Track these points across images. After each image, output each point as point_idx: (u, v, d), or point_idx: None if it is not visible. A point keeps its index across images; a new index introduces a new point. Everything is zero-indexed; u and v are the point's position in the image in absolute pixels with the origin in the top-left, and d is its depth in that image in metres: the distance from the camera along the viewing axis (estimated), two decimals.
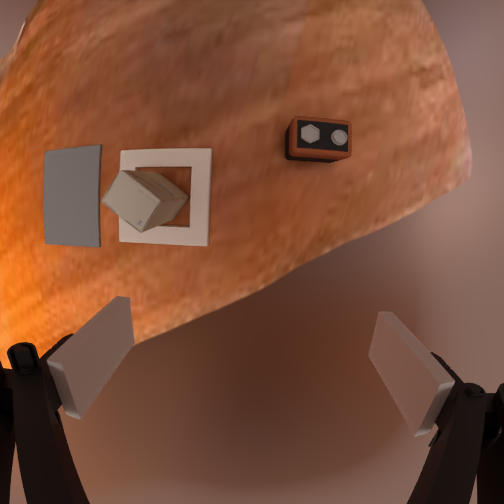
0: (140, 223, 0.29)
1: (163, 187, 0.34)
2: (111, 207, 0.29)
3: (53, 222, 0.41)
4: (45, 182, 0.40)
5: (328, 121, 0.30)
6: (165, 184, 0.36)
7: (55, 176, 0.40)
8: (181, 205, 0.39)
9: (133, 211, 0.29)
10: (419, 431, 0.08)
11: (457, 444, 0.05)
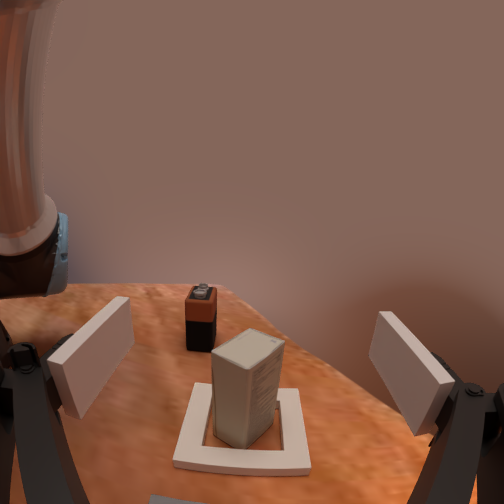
0: (274, 340, 0.28)
1: None
2: (257, 361, 0.24)
3: None
4: None
5: (191, 291, 0.47)
6: None
7: None
8: None
9: (260, 344, 0.27)
10: (419, 431, 0.08)
11: (457, 444, 0.05)
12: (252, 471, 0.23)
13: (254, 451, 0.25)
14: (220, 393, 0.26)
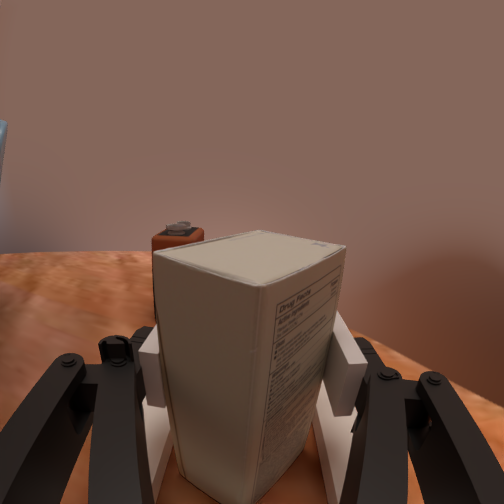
0: (321, 244, 0.11)
1: None
2: (288, 272, 0.08)
3: None
4: None
5: (165, 230, 0.31)
6: None
7: None
8: None
9: (290, 246, 0.11)
10: (338, 412, 0.10)
11: (379, 432, 0.06)
12: None
13: None
14: (182, 385, 0.09)
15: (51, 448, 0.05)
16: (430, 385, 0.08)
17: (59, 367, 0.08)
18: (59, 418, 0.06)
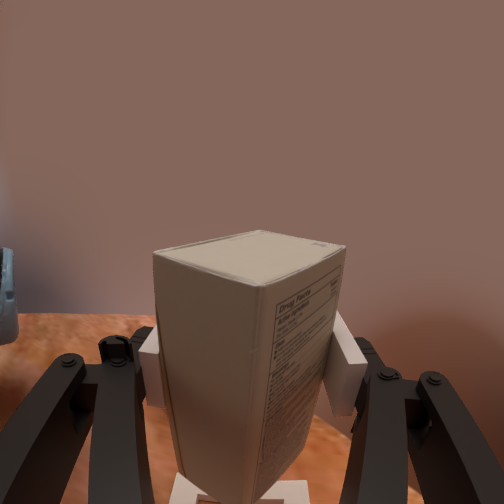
0: (320, 244, 0.11)
1: None
2: (288, 272, 0.08)
3: None
4: None
5: None
6: None
7: None
8: None
9: (290, 246, 0.11)
10: (338, 412, 0.10)
11: (379, 432, 0.06)
12: None
13: None
14: (182, 385, 0.09)
15: (51, 448, 0.05)
16: (430, 385, 0.08)
17: (59, 367, 0.08)
18: (59, 418, 0.06)
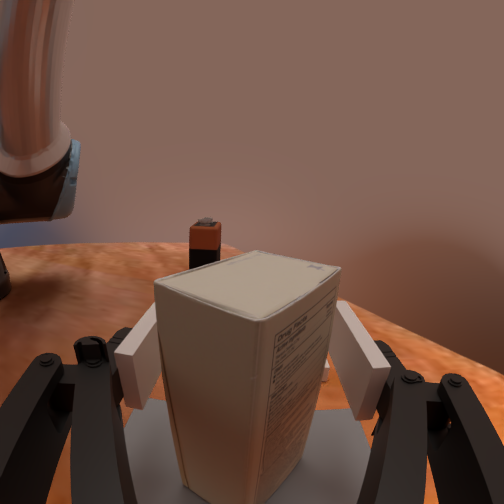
0: (316, 266, 0.12)
1: None
2: (285, 302, 0.08)
3: None
4: None
5: (196, 223, 0.48)
6: None
7: None
8: None
9: (287, 271, 0.11)
10: (360, 416, 0.10)
11: (400, 434, 0.06)
12: None
13: None
14: (185, 405, 0.09)
15: (34, 447, 0.05)
16: (451, 387, 0.08)
17: (38, 366, 0.08)
18: (40, 417, 0.06)
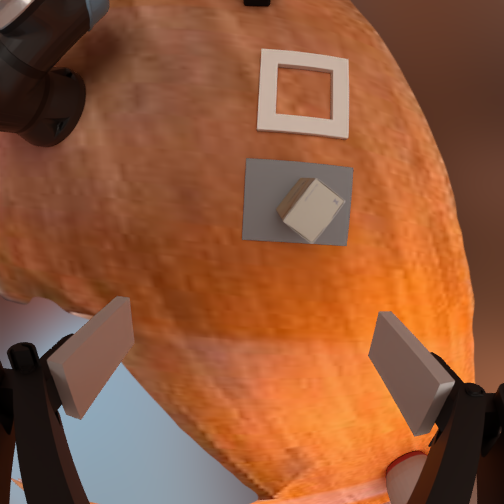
0: (336, 200, 0.31)
1: (296, 191, 0.36)
2: (319, 232, 0.32)
3: None
4: (278, 238, 0.44)
5: None
6: (291, 193, 0.38)
7: (273, 221, 0.44)
8: None
9: (324, 207, 0.31)
10: (419, 431, 0.08)
11: (457, 444, 0.05)
12: (310, 134, 0.40)
13: (312, 118, 0.39)
14: None
15: None
16: None
17: None
18: None
